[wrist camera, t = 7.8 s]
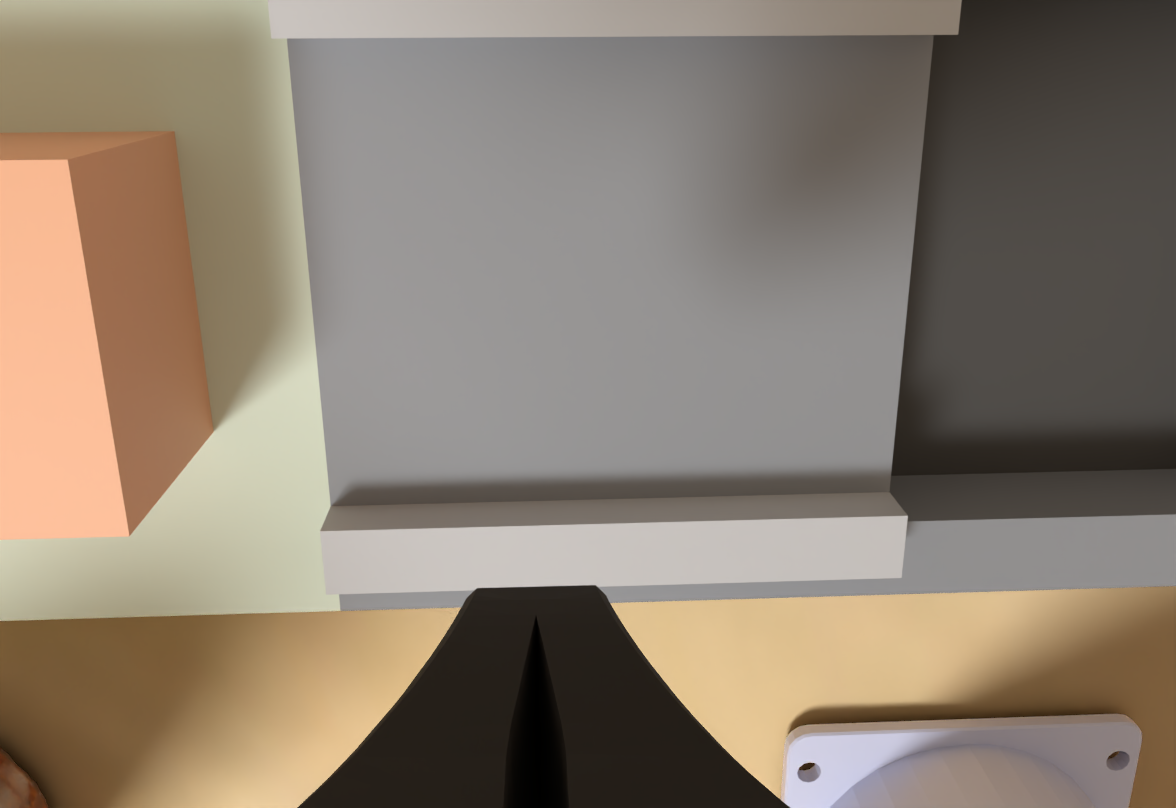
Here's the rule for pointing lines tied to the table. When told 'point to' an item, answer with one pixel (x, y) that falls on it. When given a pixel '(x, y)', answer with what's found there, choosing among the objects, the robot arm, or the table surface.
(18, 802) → the sauce bottle
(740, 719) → the table surface
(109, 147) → the terracotta block
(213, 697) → the table surface
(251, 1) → the tunnel deck
